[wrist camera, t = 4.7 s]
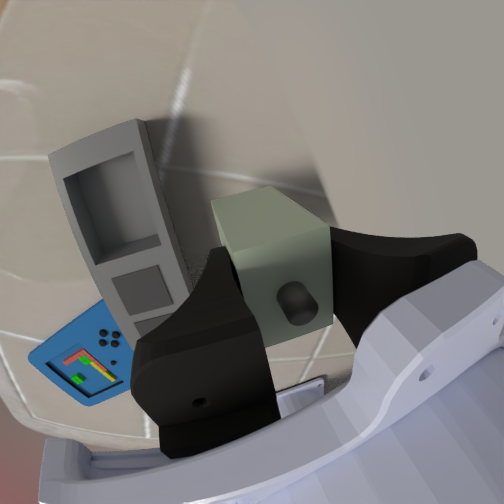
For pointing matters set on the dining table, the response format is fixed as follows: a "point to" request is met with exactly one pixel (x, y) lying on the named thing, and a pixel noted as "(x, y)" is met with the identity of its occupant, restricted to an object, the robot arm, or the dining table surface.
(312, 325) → the charger
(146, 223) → the power strip
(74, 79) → the dining table surface
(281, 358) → the dining table surface
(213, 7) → the dining table surface
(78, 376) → the handheld gaming device
